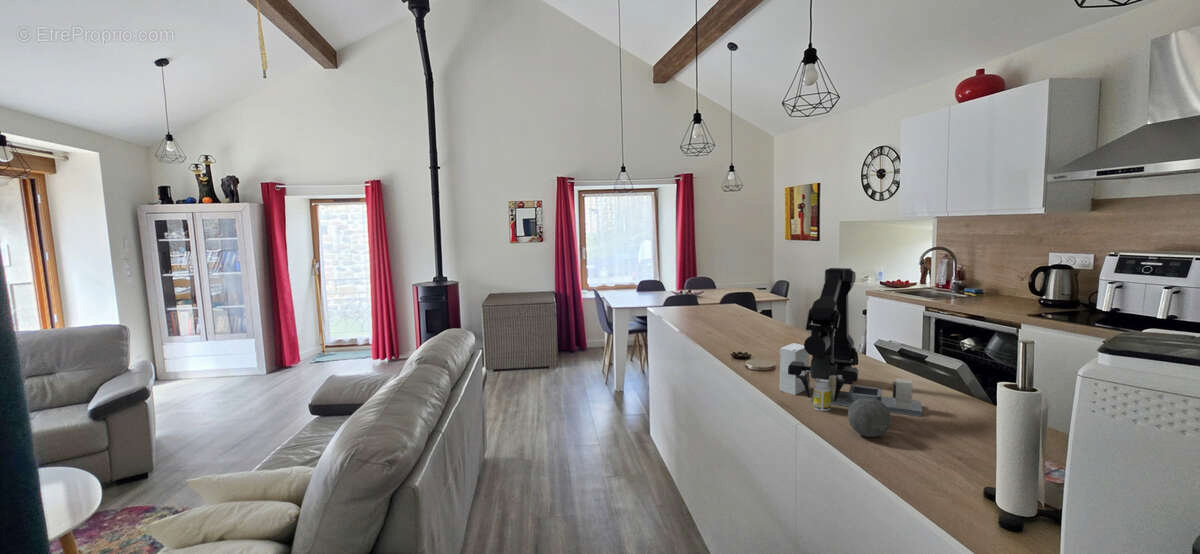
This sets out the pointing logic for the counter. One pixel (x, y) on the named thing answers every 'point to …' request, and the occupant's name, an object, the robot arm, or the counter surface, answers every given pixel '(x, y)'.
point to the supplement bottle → (822, 395)
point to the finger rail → (880, 396)
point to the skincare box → (786, 357)
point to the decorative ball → (869, 417)
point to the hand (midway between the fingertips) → (822, 399)
